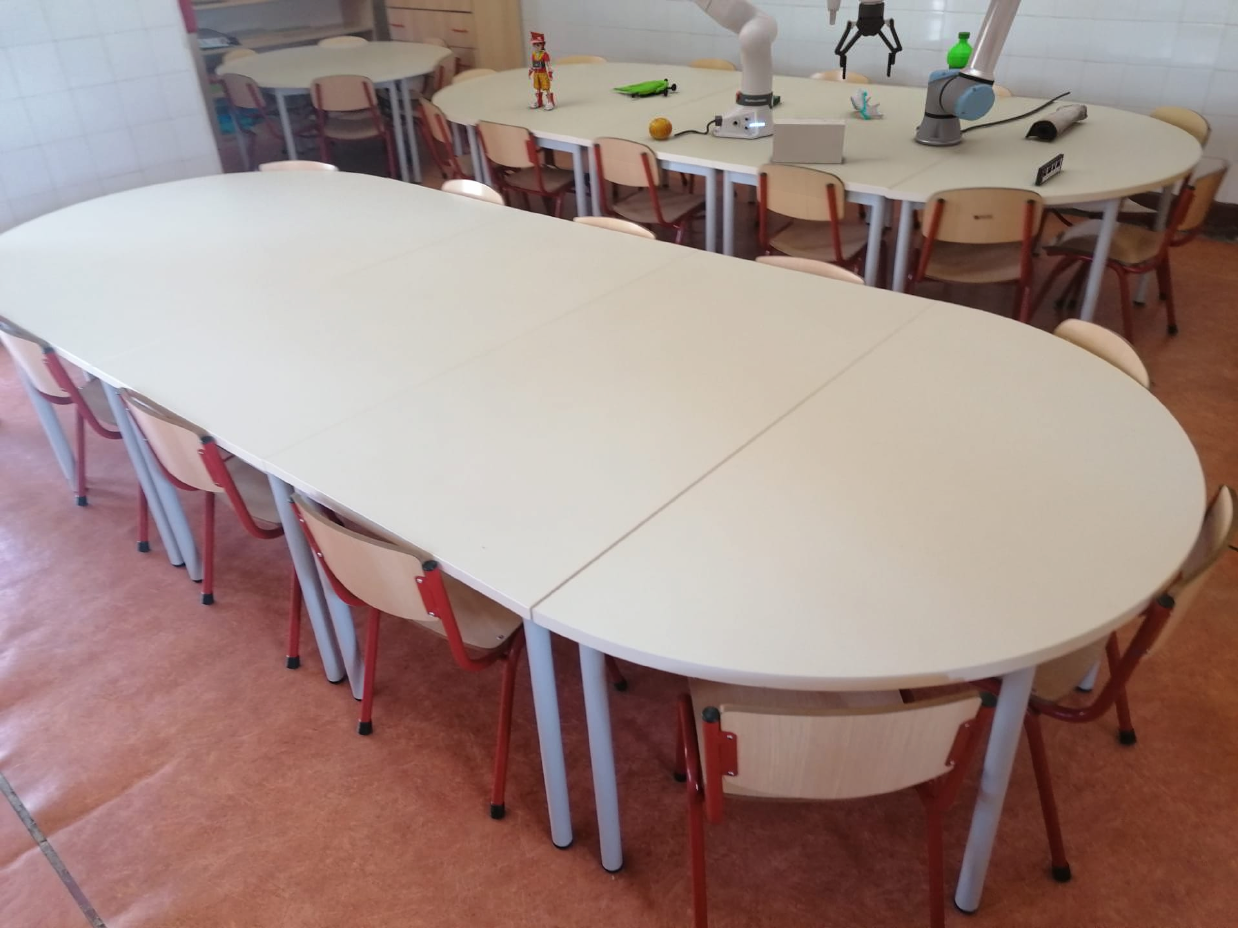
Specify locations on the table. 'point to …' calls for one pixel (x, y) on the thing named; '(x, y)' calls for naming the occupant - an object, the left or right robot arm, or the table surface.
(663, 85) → the toy
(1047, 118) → the rolled mat
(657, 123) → the fruit
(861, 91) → the anatomical model
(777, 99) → the disk drive
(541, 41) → the toy
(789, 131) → the box
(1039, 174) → the midi keyboard
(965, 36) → the plastic bottle
